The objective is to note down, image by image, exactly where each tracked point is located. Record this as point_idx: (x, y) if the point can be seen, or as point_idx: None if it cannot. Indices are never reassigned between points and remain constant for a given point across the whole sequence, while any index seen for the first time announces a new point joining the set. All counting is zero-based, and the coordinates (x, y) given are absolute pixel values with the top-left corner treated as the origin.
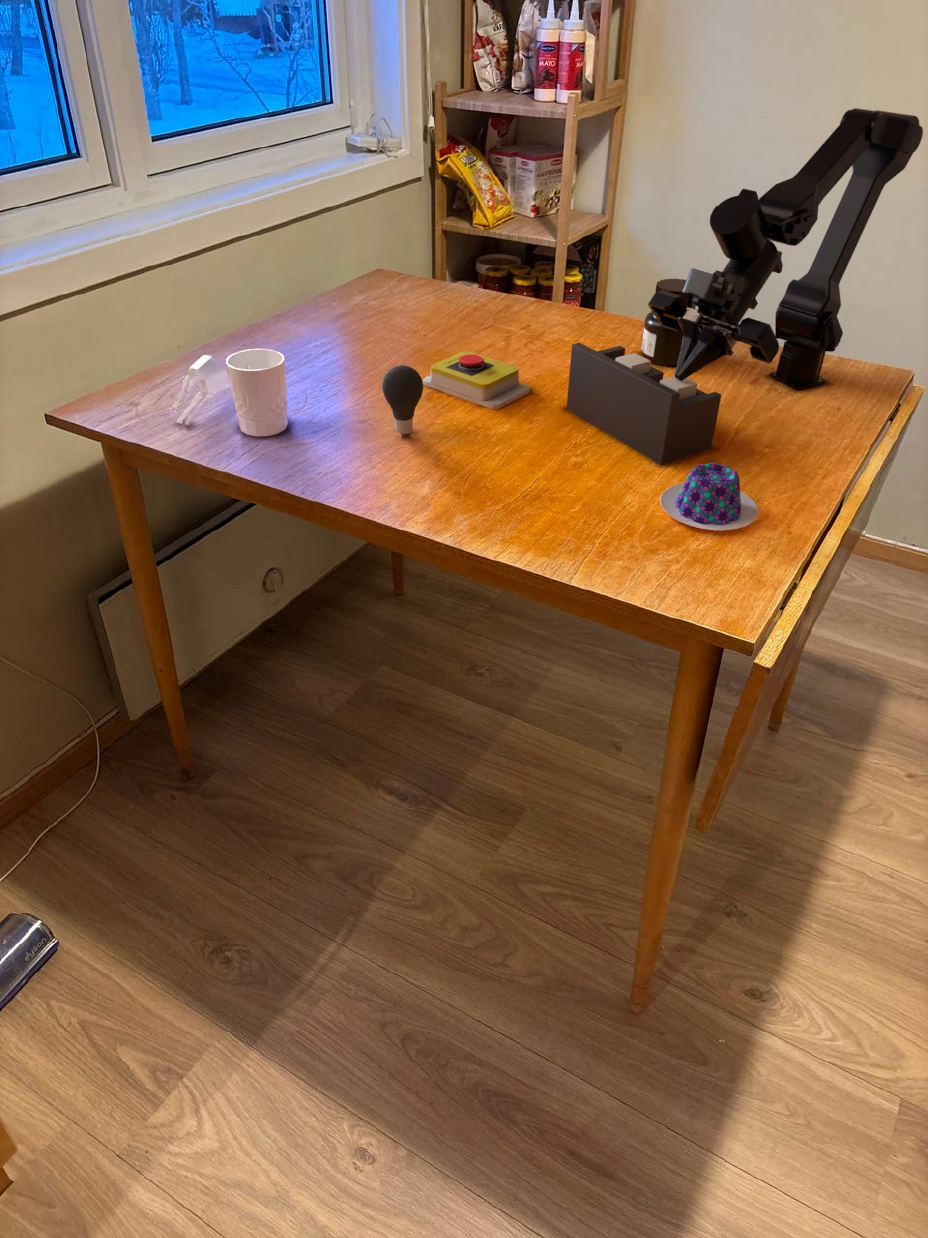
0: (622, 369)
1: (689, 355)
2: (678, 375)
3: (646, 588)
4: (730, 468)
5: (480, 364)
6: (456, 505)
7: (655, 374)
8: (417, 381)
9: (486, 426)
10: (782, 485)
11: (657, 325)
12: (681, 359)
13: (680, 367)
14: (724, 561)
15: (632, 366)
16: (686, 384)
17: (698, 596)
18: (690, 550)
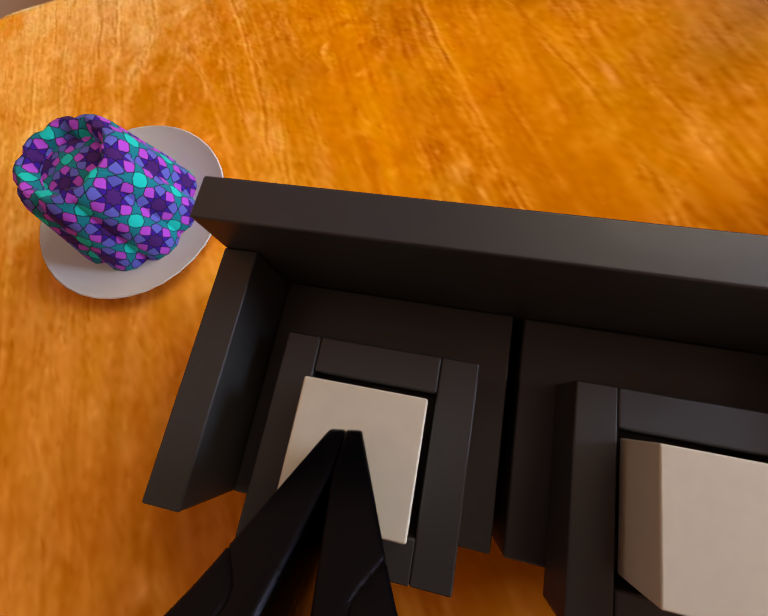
0: (553, 217)
1: (288, 541)
2: (336, 432)
3: (126, 3)
4: (40, 203)
5: None
6: None
7: (568, 559)
8: None
9: (735, 120)
10: (48, 423)
11: None
12: (349, 504)
13: (337, 462)
14: (60, 117)
15: (655, 444)
16: (306, 454)
17: (62, 37)
18: (114, 102)
